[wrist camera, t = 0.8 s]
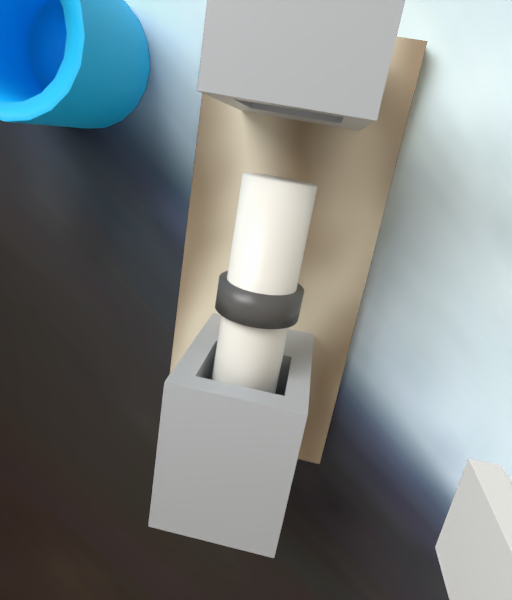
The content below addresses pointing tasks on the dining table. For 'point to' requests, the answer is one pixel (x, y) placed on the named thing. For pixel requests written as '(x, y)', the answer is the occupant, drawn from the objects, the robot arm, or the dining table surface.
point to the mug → (71, 62)
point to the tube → (262, 280)
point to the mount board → (323, 226)
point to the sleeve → (229, 447)
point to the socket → (300, 57)
